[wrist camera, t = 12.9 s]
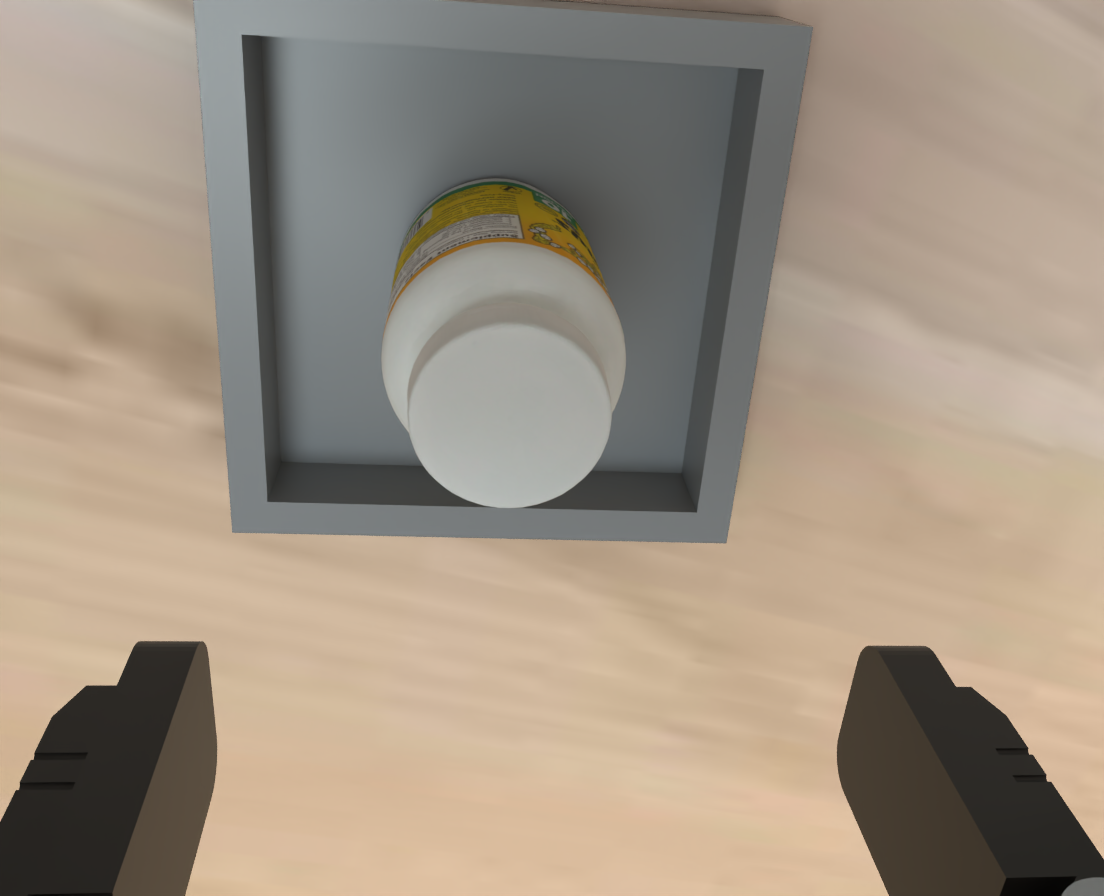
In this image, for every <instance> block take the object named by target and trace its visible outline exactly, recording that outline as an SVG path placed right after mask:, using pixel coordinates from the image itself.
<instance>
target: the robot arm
mask: <svg viewBox="0 0 1104 896" xmlns="http://www.w3.org/2000/svg"><path fill="white" fill-rule="evenodd" d="M216 765H217V736H216V727H215V717H214V707H213V697H212V687H211V677H210V667H209V657H208V651H207V647H206V645H205V643H204V642H188V641H140V642H138V643H136V645H135V646H134V648H133V650H132V652H131V654H130V656H129V659H128V661H127V663H126V666H125V668H124V670H123V673H122V675H121V677H120V680H119V682H118V684H117V686H86V687H84V688H83V689H82V690H81V691H80V692H79V693H78V694H77V695H76V696H75V697H73V698H72V699H71V700H70V701H69V702H68V703H67V704H66V705H65V706H64V707H62V708H61V709H60V710H59V711H58V712H57V713H56V714H55V715H54V716H53V717H52V718H51V720H50V722H49V724H48V726H47V728H46V730H45V732H44V734H43V736H42V739H41V741H40V743H39V745H38V747H37V749H36V751H35V756H34V760H31V761H30V763H29V765H28V767H27V769H26V771H25V773H24V775H23V777H22V779H21V781H20V788H19V790H16V791H15V793H14V795H13V797H12V799H11V801H10V803H9V805H8V807H7V810H6V812H5V814H4V816H3V818H2V820H1V822H0V896H185V894H186V890H187V886H188V882H189V879H190V875H191V871H192V868H193V864H194V860H195V857H196V853H197V849H198V846H199V842H200V838H201V834H202V831H203V827H204V823H205V820H206V816H207V812H208V809H209V805H210V801H211V797H212V793H213V788H214V783H215V775H216ZM837 765H838V773H839V778H840V782H841V786H842V789H843V791H844V794H845V796H846V798H847V801H848V803H849V805H850V807H851V810H852V812H853V814H854V817H855V819H856V821H857V823H858V826H859V828H860V830H861V833H862V835H863V837H864V839H865V842H866V844H867V846H868V849H869V851H870V853H871V855H872V858H873V860H874V862H875V865H876V867H877V869H878V871H879V874H880V876H881V878H882V881H883V883H884V885H885V887H886V890H887V892H888V894H889V896H1104V859H1103V858H1102V856H1101V855H1100V853H1099V852H1098V850H1097V849H1096V847H1095V846H1094V844H1093V843H1092V842H1091V840H1090V839H1089V837H1088V836H1087V834H1086V833H1085V831H1084V830H1083V828H1082V827H1081V825H1080V824H1079V822H1078V821H1077V819H1076V818H1075V816H1074V815H1073V813H1072V812H1071V811H1070V809H1069V808H1068V806H1067V805H1066V803H1065V802H1064V800H1063V799H1062V797H1061V796H1060V794H1059V793H1058V791H1057V790H1056V788H1055V787H1054V785H1053V784H1052V782H1047V780H1046V774H1045V772H1044V771H1043V769H1042V768H1041V766H1040V765H1039V763H1038V762H1037V760H1036V759H1035V757H1034V756H1033V755H1029V753H1028V747H1027V746H1026V744H1025V743H1024V741H1023V740H1022V738H1021V737H1020V735H1019V734H1018V732H1017V731H1016V729H1015V728H1014V726H1013V725H1012V723H1011V722H1010V720H1009V719H1008V718H1007V716H1006V715H1005V714H1004V713H1002V712H1001V711H1000V710H999V709H997V708H996V707H995V706H994V705H993V704H991V703H990V702H989V701H988V700H986V699H985V698H984V697H983V696H981V695H980V694H979V693H978V692H976V691H975V690H974V689H973V688H972V687H956V686H955V685H954V683H953V682H952V680H951V678H950V677H949V675H948V674H947V672H946V671H945V669H944V668H943V666H942V664H941V663H940V661H939V660H938V658H937V657H936V655H935V654H934V652H933V651H932V650H931V649H930V648H928V647H926V646H867V647H865V648H864V649H863V650H862V652H861V653H860V656H859V658H858V662H857V666H856V670H855V674H854V678H853V682H852V686H851V689H850V693H849V697H848V701H847V705H846V709H845V713H844V717H843V721H842V725H841V729H840V733H839V738H838V744H837Z"/></svg>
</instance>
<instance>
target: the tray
mask: <svg viewBox="0 0 1104 896" xmlns="http://www.w3.org/2000/svg"><path fill="white" fill-rule="evenodd" d="M193 4H194V17H195V31H196V45H197V58H198V72H199V85H200V99H201V113H202V126H203V140H204V153H205V167H206V181H207V194H208V208H209V221H210V235H211V249H212V262H213V276H214V289H215V303H216V317H217V330H218V344H219V357H220V371H221V385H222V398H223V412H224V425H225V439H226V453H227V466H228V480H229V493H230V507H231V520H232V533H277V534H323V535H369V536H415V537H461V538H506V539H552V540H598V541H644V542H690V543H726V542H727V536H728V530H729V524H730V518H731V512H732V506H733V500H734V494H735V488H736V482H737V476H738V470H739V464H740V458H741V453H742V447H743V441H744V435H745V429H746V423H747V417H748V411H749V405H750V399H751V393H752V387H753V381H754V375H755V369H756V363H757V357H758V351H759V346H760V340H761V334H762V328H763V322H764V316H765V310H766V304H767V298H768V292H769V286H770V280H771V274H772V268H773V262H774V256H775V250H776V244H777V239H778V233H779V227H780V221H781V215H782V209H783V203H784V197H785V191H786V185H787V179H788V173H789V167H790V161H791V155H792V149H793V143H794V138H795V132H796V126H797V120H798V114H799V108H800V102H801V96H802V90H803V84H804V78H805V72H806V66H807V60H808V54H809V48H810V42H811V36H812V31H813V27H811V26H808V25H805V24H801V23H798V22H795V21H791V20H788V19H785V18H781V17H777V16H763V15H749V14H735V13H721V12H708V11H694V10H680V9H666V8H652V7H639V6H625V5H611V4H597V3H583V2H570V1H556V0H193ZM491 178H500V179H510V180H516V181H519V182H522V183H525V184H528V185H531V186H533V187H535V188H537V189H539V190H540V191H542V192H544V193H545V194H547V195H548V196H550V197H551V198H553V199H554V200H555V201H557V202H558V203H559V204H561V205H562V206H563V207H564V208H565V209H566V210H567V211H568V212H570V213H571V215H572V216H573V217H574V218H575V219H576V221H577V222H578V224H579V225H580V227H581V228H582V230H583V232H584V233H585V236H586V238H587V240H588V242H589V244H590V247H591V250H592V252H593V254H594V257H595V259H596V262H597V264H598V267H599V269H600V272H601V274H602V277H603V280H604V283H605V285H606V288H607V290H608V292H609V295H610V298H611V300H612V303H613V305H614V308H615V310H616V313H617V315H618V317H619V320H620V322H621V325H622V329H623V333H624V342H625V350H626V369H625V376H624V382H623V386H622V390H621V393H620V396H619V399H618V402H617V404H616V406H615V409H614V410H613V412H612V421H611V427H610V433H609V438H608V441H607V443H606V446H605V448H604V451H603V453H602V455H601V457H600V459H599V460H598V462H597V463H596V465H595V466H594V467H593V469H592V470H591V471H590V472H589V473H588V475H587V476H586V477H585V478H583V479H582V480H581V481H580V482H579V483H578V484H576V485H575V486H574V487H572V488H571V489H570V490H568V491H567V492H565V493H564V494H562V495H560V496H558V497H556V498H553V499H551V500H549V501H546V502H543V503H540V504H537V505H532V506H527V507H522V508H497V507H490V506H484V505H480V504H477V503H474V502H471V501H468V500H466V499H463V498H461V497H459V496H457V495H455V494H453V493H452V492H450V491H449V490H447V489H446V488H445V487H443V486H442V485H441V484H440V483H438V482H437V481H436V480H435V479H434V478H433V477H432V476H431V475H430V474H429V473H428V471H427V470H426V469H425V467H424V466H423V465H422V463H421V462H420V460H419V458H418V456H417V454H416V452H415V450H414V447H413V445H412V442H411V439H410V435H409V432H408V431H407V430H406V428H405V427H404V426H403V424H402V423H401V421H400V420H399V418H398V417H397V415H396V413H395V411H394V410H393V407H392V405H391V403H390V401H389V398H388V395H387V392H386V388H385V385H384V381H383V374H382V362H381V354H382V341H383V334H384V328H385V323H386V318H387V312H388V307H389V301H390V296H391V291H392V285H393V279H394V273H395V268H396V264H397V259H398V256H399V252H400V248H401V245H402V242H403V240H404V237H405V235H406V233H407V231H408V229H409V227H410V226H411V224H412V223H413V221H414V220H415V218H416V217H417V216H418V214H419V213H420V212H421V211H422V210H423V209H424V208H425V207H426V206H427V205H428V204H429V203H430V202H432V201H433V200H434V199H435V198H437V197H438V196H440V195H441V194H443V193H444V192H446V191H448V190H449V189H451V188H454V187H456V186H459V185H461V184H464V183H467V182H471V181H475V180H480V179H491Z"/></svg>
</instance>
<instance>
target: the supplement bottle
mask: <svg viewBox="0 0 1104 896" xmlns="http://www.w3.org/2000/svg"><path fill="white" fill-rule="evenodd" d="M381 362H382V374H383V381H384V385H385V388H386V392H387V395H388V398H389V401H390V403H391V405H392V407H393V410H394V411H395V413H396V415H397V417H398V418H399V420H400V421H401V423H402V424H403V426H404V427H405V428H406V430H407V431H408V432H409V435H410V439H411V442H412V445H413V447H414V450H415V452H416V454H417V456H418V458H419V460H420V462H421V463H422V465H423V466H424V467H425V469H426V470H427V471H428V473H429V474H430V475H431V476H432V477H433V478H434V479H435V480H436V481H437V482H438V483H440V484H441V485H442V486H443V487H445V488H446V489H447V490H449V491H450V492H452V493H453V494H455V495H457V496H459V497H461V498H463V499H466V500H468V501H471V502H474V503H477V504H480V505H484V506H490V507H497V508H522V507H527V506H532V505H537V504H540V503H543V502H546V501H549V500H551V499H553V498H556V497H558V496H560V495H562V494H564V493H565V492H567V491H568V490H570V489H571V488H572V487H574V486H575V485H576V484H578V483H579V482H580V481H581V480H582V479H583V478H585V477H586V476H587V475H588V473H589V472H590V471H591V470H592V469H593V467H594V466H595V465H596V463H597V462H598V460H599V459H600V457H601V455H602V453H603V451H604V448H605V446H606V443H607V441H608V438H609V433H610V427H611V421H612V412H613V410H614V409H615V406H616V404H617V402H618V399H619V396H620V393H621V390H622V386H623V382H624V376H625V369H626V350H625V342H624V333H623V329H622V325H621V322H620V320H619V317H618V315H617V313H616V310H615V308H614V305H613V303H612V300H611V298H610V295H609V292H608V290H607V288H606V285H605V283H604V280H603V277H602V274H601V272H600V269H599V267H598V264H597V262H596V259H595V257H594V254H593V252H592V250H591V247H590V244H589V242H588V240H587V238H586V236H585V233H584V232H583V230H582V228H581V227H580V225H579V224H578V222H577V221H576V219H575V218H574V217H573V216H572V215H571V213H570V212H568V211H567V210H566V209H565V208H564V207H563V206H562V205H561V204H559V203H558V202H557V201H555V200H554V199H553V198H551V197H550V196H548V195H547V194H545V193H544V192H542V191H540V190H539V189H537V188H535V187H533V186H531V185H528V184H525V183H522V182H519V181H516V180H510V179H500V178H491V179H480V180H475V181H471V182H467V183H464V184H461V185H459V186H456V187H454V188H451V189H449V190H448V191H446V192H444V193H443V194H441V195H440V196H438V197H437V198H435V199H434V200H433V201H432V202H430V203H429V204H428V205H427V206H426V207H425V208H424V209H423V210H422V211H421V212H420V213H419V214H418V216H417V217H416V218H415V220H414V221H413V223H412V224H411V226H410V227H409V229H408V231H407V233H406V235H405V237H404V240H403V242H402V245H401V248H400V252H399V256H398V259H397V264H396V268H395V273H394V279H393V285H392V291H391V296H390V301H389V307H388V312H387V318H386V323H385V328H384V334H383V341H382V354H381Z"/></svg>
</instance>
